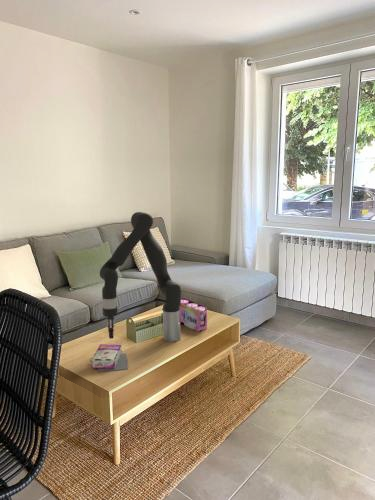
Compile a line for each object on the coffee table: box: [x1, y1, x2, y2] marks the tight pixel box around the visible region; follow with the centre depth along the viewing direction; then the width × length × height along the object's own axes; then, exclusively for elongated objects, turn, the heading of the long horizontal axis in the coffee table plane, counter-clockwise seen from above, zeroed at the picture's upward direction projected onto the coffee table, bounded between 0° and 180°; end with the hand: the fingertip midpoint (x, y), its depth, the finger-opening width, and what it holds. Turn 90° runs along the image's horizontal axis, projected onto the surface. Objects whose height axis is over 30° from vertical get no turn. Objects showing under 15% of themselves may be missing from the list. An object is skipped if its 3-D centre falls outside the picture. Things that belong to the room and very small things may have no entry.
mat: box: [97, 352, 129, 373], centre depth 192 cm, size 14×16×1 cm
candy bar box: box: [91, 344, 122, 369], centre depth 193 cm, size 11×5×16 cm
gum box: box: [179, 297, 208, 332], centre depth 237 cm, size 24×8×14 cm, turn 38°
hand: (111, 337), depth 199 cm, fingers closed
